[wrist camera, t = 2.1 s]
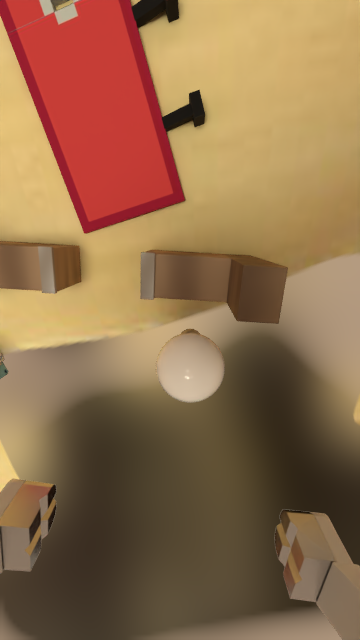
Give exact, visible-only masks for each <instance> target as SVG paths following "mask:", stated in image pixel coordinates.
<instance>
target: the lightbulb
mask: <svg viewBox="0 0 360 640" xmlns="http://www.w3.org/2000/svg"><path fill="white" fill-rule="evenodd" d="M224 368H225V367H224V360H223V356H222V354H221V352H220V350H219V348H218V347H217V346H216V344H215V343H214V342H213V341H211V340H210V339H209V338H207V337H205V336H203V335H200V333H199V332H198V331H196V330H194V329H186V330H184V331H183V332H182V333H181V334H180V335H177V336H175V337H173V338H172V339H170V340H169V341H168V342H167V343H166V344H165V345H164V346H163V347H162V349H161V351H160V353H159V355H158V358H157V363H156V372H157V377H158V380H159V382H160V384H161V386H162V388H163V389H164V390H165V391H166V392H167V393H168V394H169V395H170V396H172V397H173V398H175V399H177V400H180V401H183V402H198V401H202V400H204V399H206V398H208V397H210V396H211V395H212V394H213V393H214V392H215V391H216V390H217V389H218V388H219V386H220V384H221V382H222V380H223V376H224Z"/></svg>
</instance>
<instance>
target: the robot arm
mask: <svg viewBox="0 0 360 640" xmlns="http://www.w3.org/2000/svg"><path fill="white" fill-rule="evenodd" d="M55 494H56V485H55V484H48V483H41V482H34V481H26V480H18V479H12V480H10V481H9V482H8V483H7V484H6V486H5V487H4V488H3V490H2V491H1V492H0V574H1V573H2V571H3V569H4V570H18V571H31V569H32V567H33V565H34V563H35V561H36V558H37V557H38V554H39V552H40V550H41V539H43V538H44V537H45V536H46V535H47V534H48V533H49V530H50V528H51V526H52V523H53V520H54V517H55V513H56V501H55V500H54V499H53V498H54V496H55ZM280 520H281V523H280V524H279V525H278V526H277V527H276V531H275V547H276V552H277V555H278V559H279V560H280V561H281V562H282V563H283V565H284V566H285V569H284V572H283V576H284V579H285V582H286V586H287V589H288V592H289V596H290V598H292V599H299V600H306V601H313V602H317V603H316V604H317V605H318V607H319V608H320V609H321V611H322V612H323V614H324V615H325V616H326V618H327V619H328V620H329V622H330V623H331V625H332V626H333V627H334V629H335V630H336V631H337V633H338V634H339V636H340V637H341V638H342V640H360V567H359V566H358V565H355V564H353V563H352V561H351V559H350V557H349V555H348V553H347V551H346V550H345V548H344V546H343V544H342V542H341V540H340V538H339V536H338V534H337V533H336V531H335V529H334V527H333V525H332V523H331V521H330V519H329V517H328V516H327V515H326V514H323V513H314V512H306V511H296V510H285V509H283V510H282V511H281V513H280Z"/></svg>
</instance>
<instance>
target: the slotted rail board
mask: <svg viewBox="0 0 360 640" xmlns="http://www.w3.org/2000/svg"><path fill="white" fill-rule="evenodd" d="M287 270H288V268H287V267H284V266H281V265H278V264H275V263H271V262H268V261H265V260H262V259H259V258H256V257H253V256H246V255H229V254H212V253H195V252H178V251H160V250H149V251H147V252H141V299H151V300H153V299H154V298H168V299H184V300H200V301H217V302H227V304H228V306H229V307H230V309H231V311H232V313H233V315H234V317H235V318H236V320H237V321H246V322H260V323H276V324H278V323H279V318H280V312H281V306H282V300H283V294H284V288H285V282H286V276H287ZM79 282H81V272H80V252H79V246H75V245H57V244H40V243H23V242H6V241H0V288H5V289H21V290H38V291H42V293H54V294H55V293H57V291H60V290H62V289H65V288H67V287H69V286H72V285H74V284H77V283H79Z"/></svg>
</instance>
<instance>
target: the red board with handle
mask: <svg viewBox="0 0 360 640" xmlns="http://www.w3.org/2000/svg"><path fill="white" fill-rule="evenodd" d="M67 1H69V0H0V16H1V18H2V21H3V23H4V26H5V29H6V31H7V34H8V36H9V39H10V42H11V44H12V47H13V49H14V52H15V55H16V57H17V60H18V62H19V65H20V67H21V70H22V73H23V75H24V78H25V80H26V83H27V86H28V88H29V91H30V93H31V96H32V99H33V101H34V104H35V106H36V109H37V112H38V114H39V117H40V119H41V122H42V125H43V127H44V130H45V132H46V135H47V138H48V140H49V143H50V145H51V148H52V151H53V153H54V156H55V158H56V161H57V164H58V166H59V169H60V171H61V174H62V176H63V179H64V182H65V184H66V187H67V189H68V192H69V195H70V197H71V200H72V202H73V205H74V208H75V210H76V213H77V215H78V218H79V221H80V223H81V226H82V228H83V231H84V233H89V232H92V231H95V230H98V229H101V228H104V227H107V226H110V225H113V224H116V223H119V222H122V221H125V220H128V219H131V218H134V217H137V216H140V215H144V214H147V213H150V212H153V211H156V210H159V209H162V208H165V207H168V206H171V205H174V204H177V203H180V202H183V201H185V199H184V196H183V192H182V188H181V185H180V181H179V177H178V174H177V170H176V166H175V163H174V159H173V155H172V152H171V148H170V145H169V141H168V137H167V134H166V132H167V131H169V130H171V129H173V128H175V127H177V126H179V125H182V124H184V123H186V122H188V121H190V120H192V119H193V122H194V126H195V127H197V126H199V125H202V124H204V119H205V112H204V108H203V103H202V99H201V95H200V90H197V91H195V92H192V93H190V94H189V104H188V105H186V106H184V107H182V108H180V109H178V110H176V111H174V112H172V113H170V114H168V115H166V116H164V117H162V115H161V112H160V108H159V104H158V101H157V97H156V93H155V90H154V86H153V82H152V79H151V75H150V72H149V68H148V64H147V61H146V57H145V53H144V50H143V46H142V42H141V39H140V35H139V31H138V28H139V27H140V26H142V25H143V24H145V23H146V22H148V21H149V20H151V19H152V18H154V17H155V16H157V15H158V14H160V13H161V12H163V11H164V10H166V13H167V17H168V21H169V22H172V21H174V20H177V19H179V12H178V0H141V1H140V2H138V3H137V4H135V5H134V6H131V2H130V0H73V2H74V3H72V4H70V5H68V6H66V7H64V8H61V9H59V10H57V11H56V8H55V6H58V5H60V4H62V3H65V2H67Z"/></svg>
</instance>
